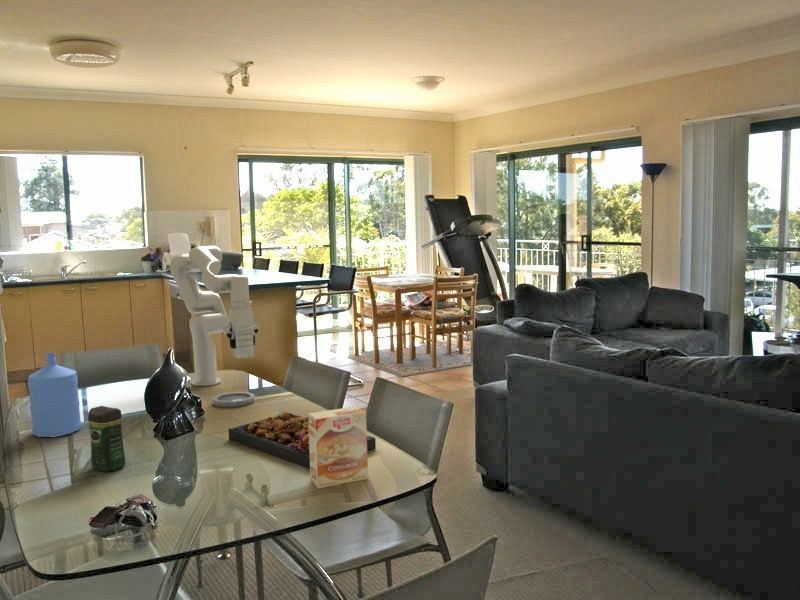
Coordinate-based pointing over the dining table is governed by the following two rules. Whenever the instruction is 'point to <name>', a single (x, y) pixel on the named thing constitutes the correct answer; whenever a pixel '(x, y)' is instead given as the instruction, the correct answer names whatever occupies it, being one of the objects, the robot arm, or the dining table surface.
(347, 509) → the dining table surface
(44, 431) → the water jug
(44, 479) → the dining table surface
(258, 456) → the dining table surface
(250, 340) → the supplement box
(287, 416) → the food platter
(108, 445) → the coffee jar
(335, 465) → the coffeecake box
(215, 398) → the saucer
